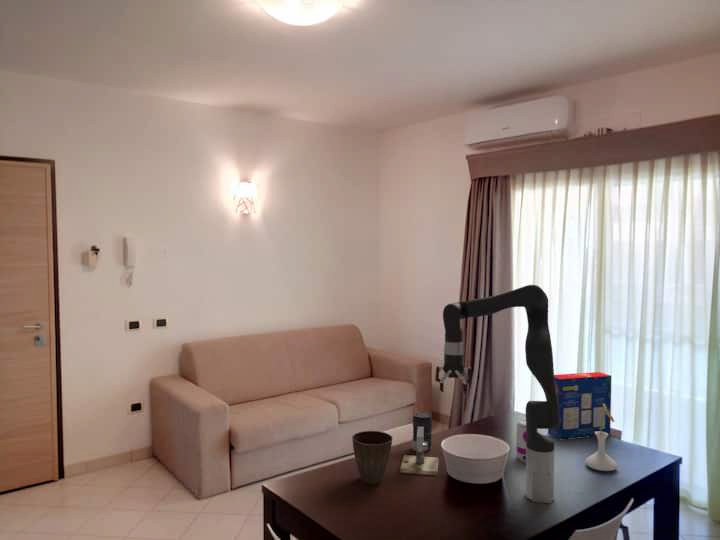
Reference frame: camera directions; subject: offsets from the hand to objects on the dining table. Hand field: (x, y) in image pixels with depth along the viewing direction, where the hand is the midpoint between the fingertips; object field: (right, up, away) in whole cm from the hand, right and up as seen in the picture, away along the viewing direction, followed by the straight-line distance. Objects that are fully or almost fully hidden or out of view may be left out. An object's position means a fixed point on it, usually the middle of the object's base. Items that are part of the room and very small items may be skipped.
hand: (453, 392), depth 212 cm
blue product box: (+65, -28, +34) cm, 79 cm away
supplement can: (+31, -28, +4) cm, 42 cm away
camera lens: (-11, -28, +14) cm, 33 cm away
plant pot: (-33, -29, -17) cm, 47 cm away
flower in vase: (+58, -29, -4) cm, 65 cm away
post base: (-14, -28, -5) cm, 32 cm away
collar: (-14, -21, -5) cm, 26 cm away
